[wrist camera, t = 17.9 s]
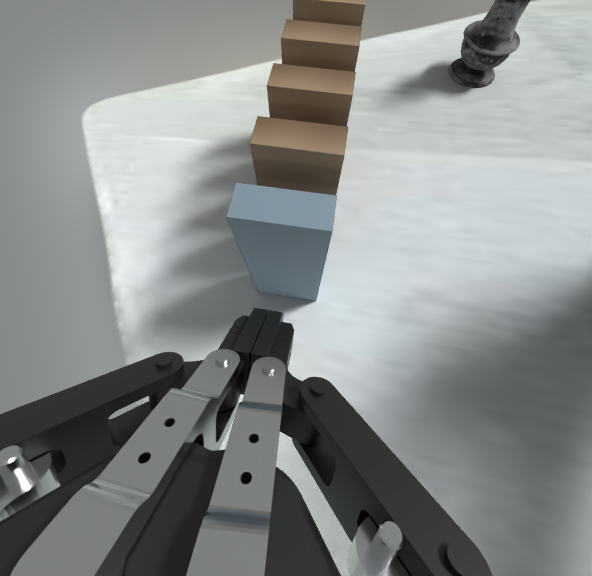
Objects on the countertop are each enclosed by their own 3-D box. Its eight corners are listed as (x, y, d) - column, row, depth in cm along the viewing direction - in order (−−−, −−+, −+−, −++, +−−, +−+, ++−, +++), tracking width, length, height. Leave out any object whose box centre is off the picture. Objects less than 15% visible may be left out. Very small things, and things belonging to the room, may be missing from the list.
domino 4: (323, 253, 24) (344, 155, 14) (269, 245, 24) (249, 143, 14) (326, 234, 25) (348, 126, 14) (273, 226, 25) (257, 116, 15)
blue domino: (315, 301, 23) (332, 231, 12) (258, 292, 23) (226, 216, 13) (319, 279, 23) (337, 195, 13) (262, 270, 24) (236, 182, 13)
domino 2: (335, 174, 27) (359, 46, 17) (286, 168, 27) (281, 37, 17) (337, 159, 28) (362, 26, 17) (290, 153, 28) (286, 19, 18)
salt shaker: (489, 56, 33) (588, -112, 22) (502, 89, 31) (618, -77, 20) (442, 57, 33) (517, -111, 22) (452, 89, 31) (540, -76, 20)
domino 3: (329, 211, 26) (352, 95, 15) (278, 204, 26) (266, 85, 16) (332, 194, 26) (355, 72, 16) (282, 188, 27) (273, 63, 16)
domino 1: (340, 141, 29) (365, 4, 18) (294, 136, 29) (292, -3, 19) (342, 128, 29) (367, -12, 19) (297, 122, 30) (297, -18, 19)
